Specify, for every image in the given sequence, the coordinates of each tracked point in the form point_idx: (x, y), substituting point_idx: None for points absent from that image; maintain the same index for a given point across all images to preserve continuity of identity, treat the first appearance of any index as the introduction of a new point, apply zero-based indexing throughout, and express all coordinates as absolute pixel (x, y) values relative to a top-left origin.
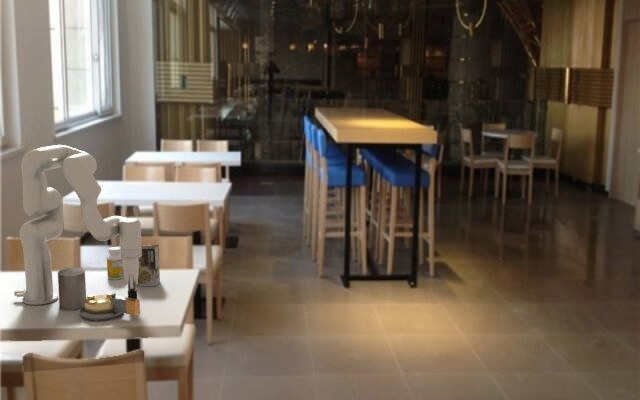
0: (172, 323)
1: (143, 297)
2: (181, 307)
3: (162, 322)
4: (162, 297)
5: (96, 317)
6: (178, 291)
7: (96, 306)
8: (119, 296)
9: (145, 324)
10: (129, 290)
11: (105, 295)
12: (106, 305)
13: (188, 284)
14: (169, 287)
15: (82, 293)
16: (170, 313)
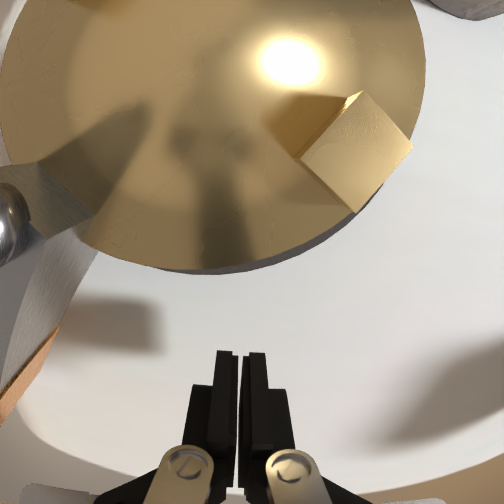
0: (42, 433)
1: (457, 367)
2: (229, 491)
3: (44, 413)
4: (404, 439)
5: None
6: (430, 463)
7: (18, 27)
8: (11, 312)
9: None
10: (163, 468)
11: (404, 93)
12: (4, 125)
13: (466, 464)
14: (485, 429)
15: None
16: (154, 461)
